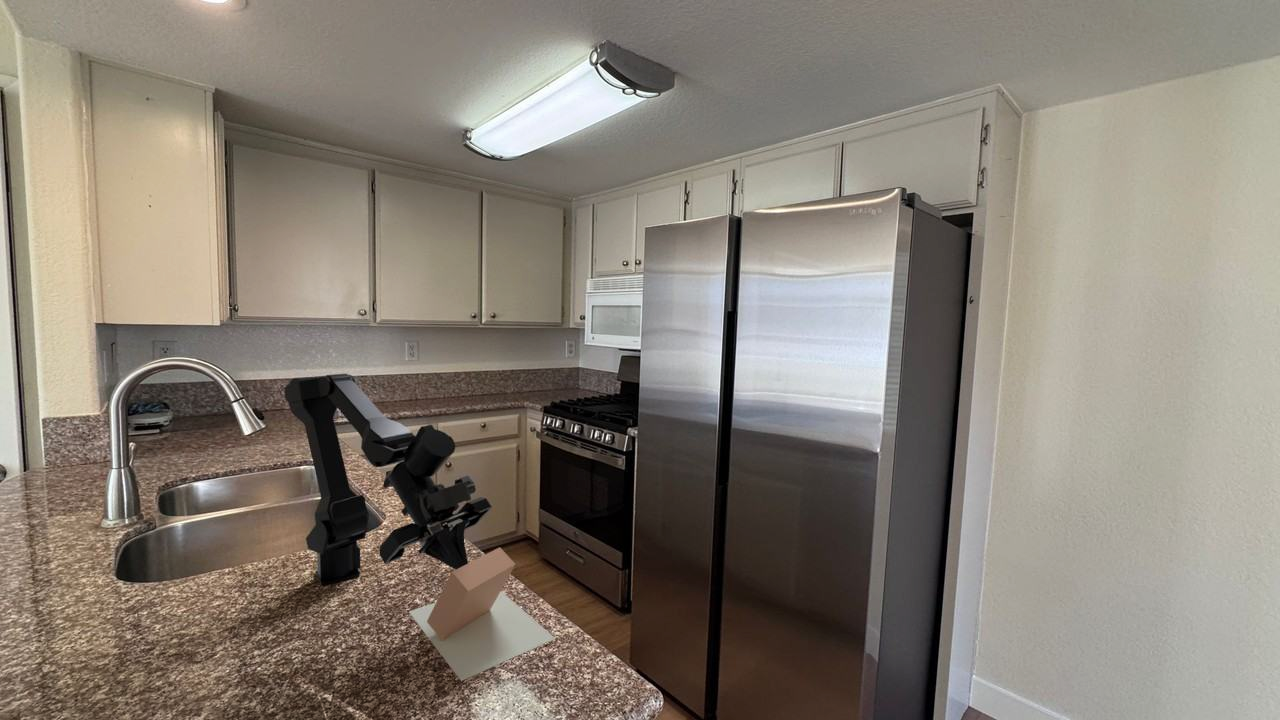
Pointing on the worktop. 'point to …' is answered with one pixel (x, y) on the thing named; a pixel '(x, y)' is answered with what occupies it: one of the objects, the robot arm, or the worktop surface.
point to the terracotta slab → (470, 592)
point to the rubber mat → (486, 637)
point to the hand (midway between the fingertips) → (465, 571)
